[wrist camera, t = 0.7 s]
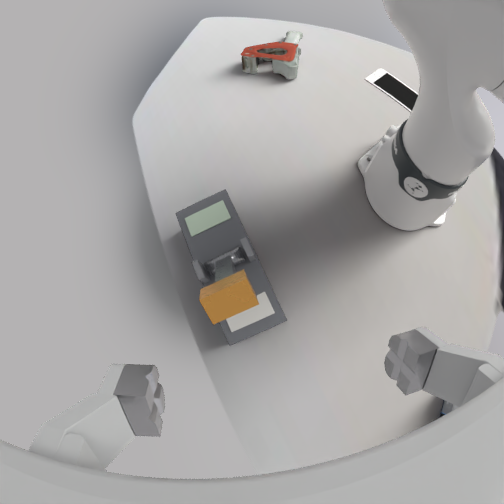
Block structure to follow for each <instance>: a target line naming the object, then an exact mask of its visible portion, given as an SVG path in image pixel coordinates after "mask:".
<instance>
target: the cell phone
mask: <svg viewBox="0 0 504 504" xmlns="http://www.w3.org/2000/svg"><path fill="white" fill-rule="evenodd" d="M365 80H366V81H368V82H369V83H371V84H372V85H374V86H375V87H377V88H378V89H380V90H381V91H383V92H384V93H386V94H387V95H388V96H390V97H391V98H393V99H394V100H395V101H397V102H398V103H399V104H401V105H402V106H403V107H405V108H406V109H407V110H408V111H410V112H412V110H413V107H414V105H415V102H416V100H417V97H418V93H416V92H415V91H414V90H412V89H411V88H410V87H408V86H407V85H405V84H404V83H403V82H401V81H400V80H398V79H397V78H395V77H394V76H392V75H391V74H389V73H388V72H386V71H385V70H383V69H382V68H380V69H378V70H377V71H375V72H374V73H372V74H371V75H369V76H368V77H366V78H365Z"/></svg>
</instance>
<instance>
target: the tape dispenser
mask: <svg viewBox="0 0 504 504" xmlns="http://www.w3.org/2000/svg"><path fill="white" fill-rule="evenodd" d="M302 37H303V34H302V33H301V32H298V31H289V32H287V33H286V38H285V41H284V42H274V43H267V44H262V45H256V46H250V47H247V48H245V49H244V51H243V52H242V53H241V55H242V65H243V70H242V72H244V73H250V74H256V73H257V68H258V64H259V59H264V61H272V68H273V72H274V73H280V74H282V76H284V77H286V79H295V78H296V77H297V70H298V64H299V56H300V55H301V48H299V47H298V42H299V40H300V39H301V38H302Z"/></svg>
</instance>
